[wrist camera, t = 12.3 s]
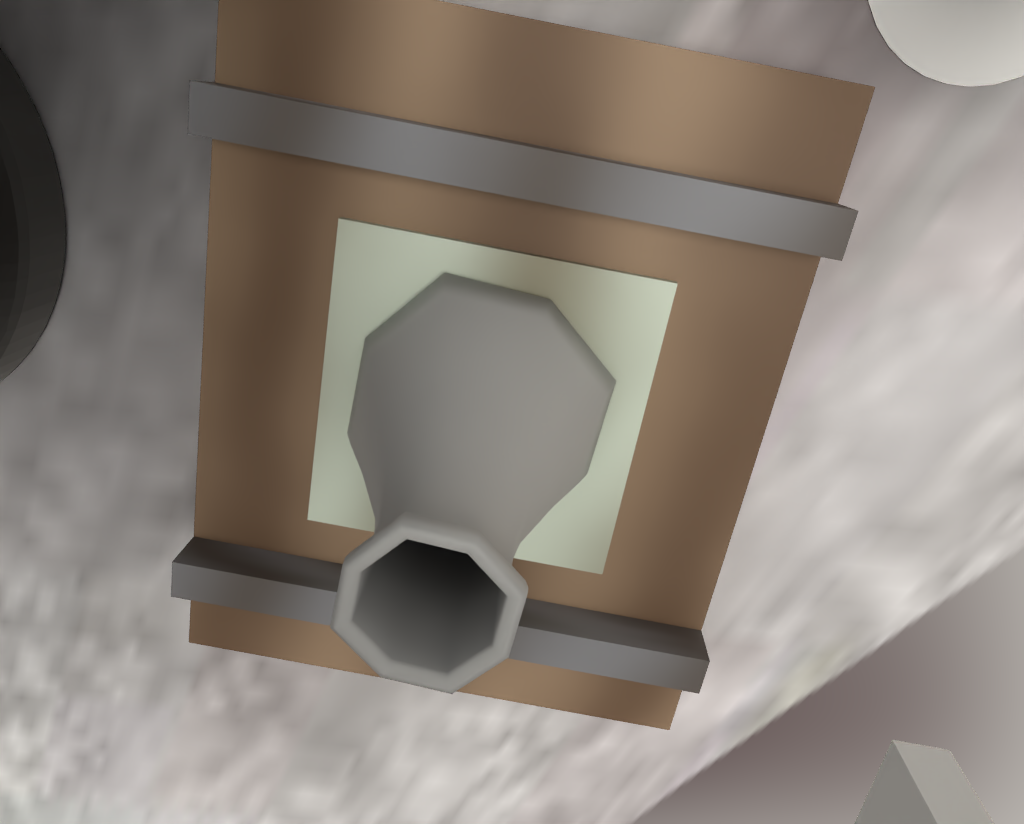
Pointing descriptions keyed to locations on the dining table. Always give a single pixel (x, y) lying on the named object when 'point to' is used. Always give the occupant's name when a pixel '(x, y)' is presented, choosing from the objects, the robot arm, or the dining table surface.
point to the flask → (461, 473)
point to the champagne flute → (955, 38)
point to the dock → (510, 264)
